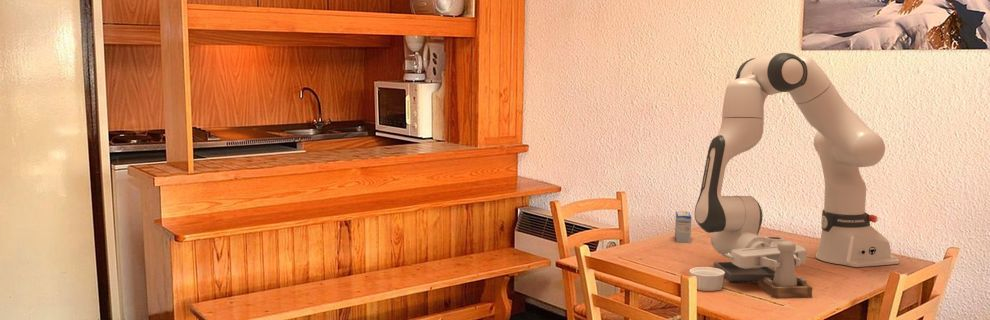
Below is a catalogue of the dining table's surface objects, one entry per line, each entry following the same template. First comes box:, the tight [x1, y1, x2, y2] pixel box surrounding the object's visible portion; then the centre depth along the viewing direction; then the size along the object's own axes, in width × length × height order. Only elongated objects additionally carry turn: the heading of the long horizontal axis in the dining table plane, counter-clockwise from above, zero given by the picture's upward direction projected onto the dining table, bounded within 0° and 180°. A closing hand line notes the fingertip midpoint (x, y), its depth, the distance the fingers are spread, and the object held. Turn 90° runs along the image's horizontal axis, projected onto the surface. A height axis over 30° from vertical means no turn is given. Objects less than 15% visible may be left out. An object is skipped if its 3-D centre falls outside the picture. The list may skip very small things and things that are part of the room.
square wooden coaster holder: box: [757, 276, 813, 299], centre depth 219 cm, size 10×10×3 cm
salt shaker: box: [773, 240, 797, 287], centre depth 219 cm, size 6×6×13 cm
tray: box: [713, 261, 776, 284], centre depth 235 cm, size 14×14×2 cm
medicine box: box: [674, 210, 692, 244], centre depth 277 cm, size 8×4×9 cm, turn 172°
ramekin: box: [689, 266, 725, 292], centre depth 224 cm, size 9×9×4 cm
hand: (788, 263), depth 218 cm, fingers open, 5 cm apart
